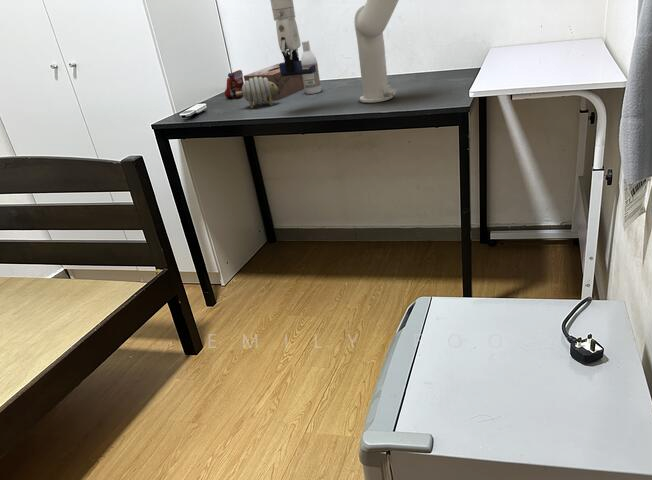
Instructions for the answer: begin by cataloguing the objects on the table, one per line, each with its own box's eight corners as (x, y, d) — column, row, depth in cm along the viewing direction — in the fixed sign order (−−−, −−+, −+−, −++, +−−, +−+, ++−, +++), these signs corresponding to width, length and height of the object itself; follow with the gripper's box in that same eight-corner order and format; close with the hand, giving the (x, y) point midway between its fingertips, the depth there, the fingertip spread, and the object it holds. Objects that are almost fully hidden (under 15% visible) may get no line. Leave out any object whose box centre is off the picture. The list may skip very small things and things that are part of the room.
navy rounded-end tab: (315, 71, 201) (314, 59, 199) (311, 73, 197) (309, 61, 195) (283, 73, 204) (281, 62, 202) (279, 76, 200) (276, 64, 198)
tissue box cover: (281, 87, 255) (277, 63, 250) (308, 86, 249) (304, 62, 244) (248, 100, 236) (243, 75, 231) (276, 100, 230) (272, 74, 225)
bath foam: (322, 92, 233) (315, 40, 223) (306, 95, 232) (298, 43, 222) (319, 89, 239) (312, 39, 228) (304, 92, 238) (295, 41, 227)
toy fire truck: (223, 100, 243) (217, 75, 238) (239, 93, 253) (233, 69, 248) (236, 99, 241) (230, 74, 235) (251, 93, 250) (246, 68, 245)
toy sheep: (282, 104, 220) (277, 75, 215) (240, 112, 217) (233, 82, 212) (278, 100, 229) (273, 71, 224) (238, 107, 226) (231, 78, 221)
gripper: (286, 15, 183) (296, 74, 192) (301, 10, 197) (310, 65, 206) (264, 18, 185) (275, 75, 194) (282, 12, 199) (291, 67, 208)
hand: (293, 69), depth 200 cm, fingers closed on navy rounded-end tab, 5 cm apart
